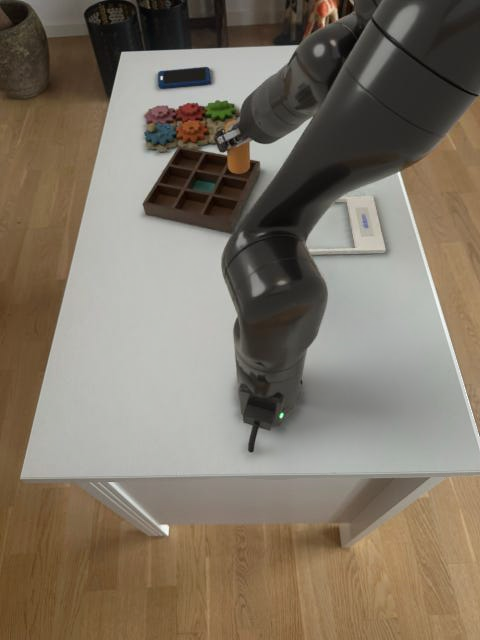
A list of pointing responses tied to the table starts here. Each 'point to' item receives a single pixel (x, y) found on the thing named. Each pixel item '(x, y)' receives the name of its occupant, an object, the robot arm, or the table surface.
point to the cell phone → (184, 77)
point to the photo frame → (360, 228)
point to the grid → (201, 190)
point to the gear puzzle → (187, 124)
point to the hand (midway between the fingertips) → (231, 141)
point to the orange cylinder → (238, 156)
